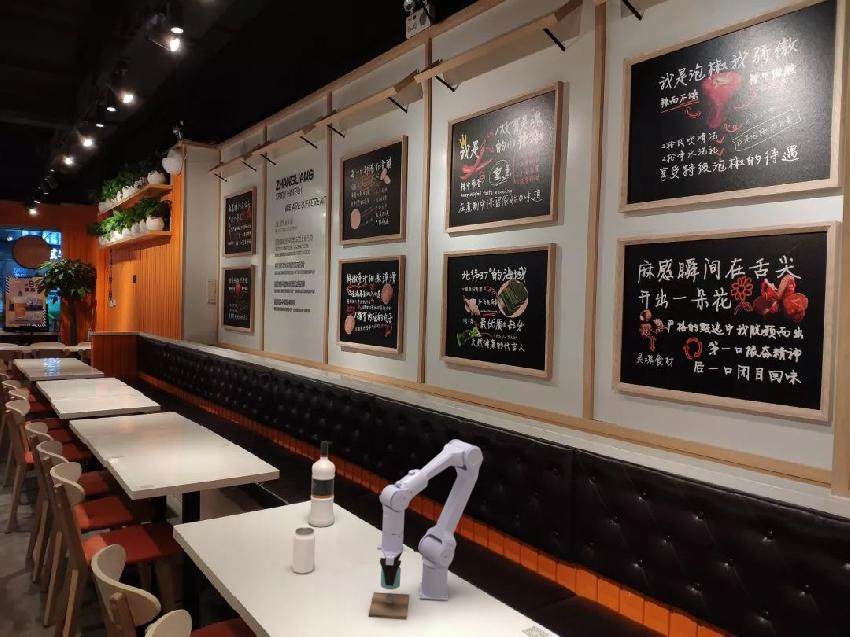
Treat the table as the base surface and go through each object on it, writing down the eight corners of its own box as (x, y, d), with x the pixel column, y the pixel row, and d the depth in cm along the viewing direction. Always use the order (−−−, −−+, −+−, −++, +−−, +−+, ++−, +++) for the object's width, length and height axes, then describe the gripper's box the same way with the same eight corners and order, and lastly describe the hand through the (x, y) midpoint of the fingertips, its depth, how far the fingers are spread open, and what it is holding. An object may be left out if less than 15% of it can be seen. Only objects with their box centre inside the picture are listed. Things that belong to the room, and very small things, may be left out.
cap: (381, 579, 174) (382, 563, 173) (400, 581, 174) (401, 565, 173) (379, 588, 168) (380, 572, 168) (399, 589, 168) (399, 573, 168)
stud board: (373, 594, 177) (374, 582, 177) (408, 597, 177) (409, 584, 177) (368, 616, 165) (369, 603, 165) (406, 619, 165) (406, 606, 165)
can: (315, 565, 194) (316, 527, 194) (312, 574, 188) (313, 535, 187) (294, 564, 194) (295, 526, 194) (290, 573, 188) (292, 534, 187)
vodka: (327, 529, 223) (330, 445, 222) (303, 525, 226) (307, 442, 225) (338, 520, 232) (341, 440, 231) (315, 516, 235) (318, 437, 233)
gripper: (380, 520, 178) (378, 567, 178) (375, 540, 163) (372, 591, 164) (405, 521, 177) (403, 568, 178) (402, 542, 163) (399, 593, 164)
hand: (390, 579), depth 171 cm, fingers closed on cap, 5 cm apart
